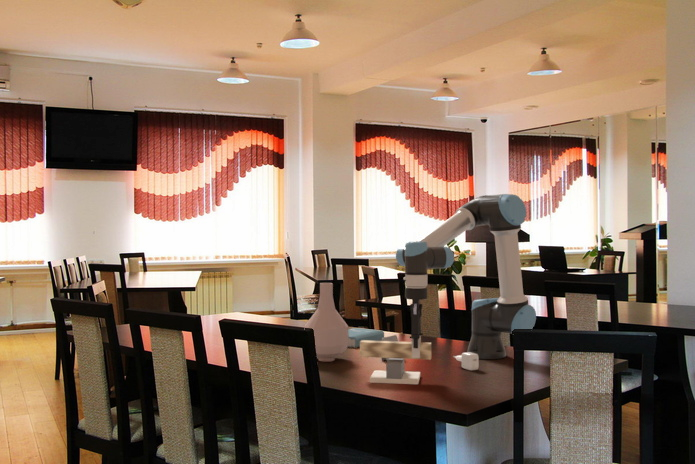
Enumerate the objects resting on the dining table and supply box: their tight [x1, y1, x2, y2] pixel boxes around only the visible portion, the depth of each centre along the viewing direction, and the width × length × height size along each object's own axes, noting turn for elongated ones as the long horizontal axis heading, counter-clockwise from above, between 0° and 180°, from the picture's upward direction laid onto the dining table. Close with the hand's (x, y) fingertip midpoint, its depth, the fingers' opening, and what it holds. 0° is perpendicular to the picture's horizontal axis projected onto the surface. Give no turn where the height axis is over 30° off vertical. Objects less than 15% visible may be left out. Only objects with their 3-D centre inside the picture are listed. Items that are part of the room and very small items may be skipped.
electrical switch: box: [380, 334, 399, 361], centre depth 254 cm, size 9×5×9 cm, turn 141°
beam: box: [359, 340, 432, 360], centre depth 219 cm, size 24×4×5 cm, turn 80°
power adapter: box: [452, 351, 480, 371], centre depth 238 cm, size 11×5×6 cm, turn 28°
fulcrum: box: [369, 358, 421, 385], centre depth 219 cm, size 16×12×6 cm
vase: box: [304, 282, 349, 362], centre depth 253 cm, size 18×18×30 cm
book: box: [347, 327, 385, 349], centre depth 292 cm, size 23×16×5 cm
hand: (416, 356), depth 218 cm, fingers closed on beam, 4 cm apart
